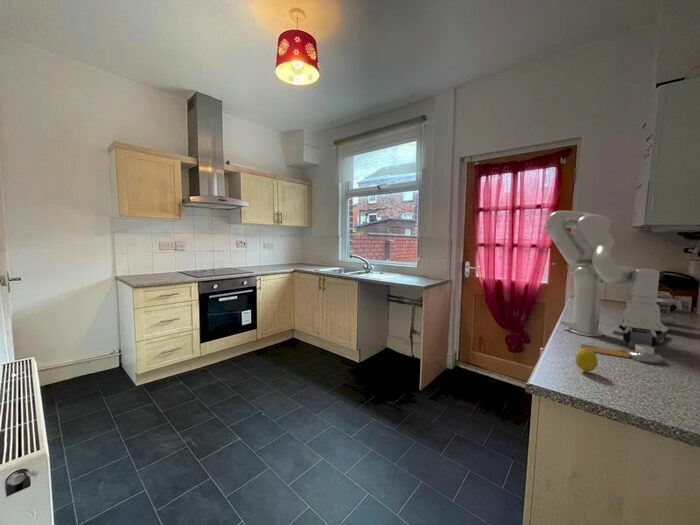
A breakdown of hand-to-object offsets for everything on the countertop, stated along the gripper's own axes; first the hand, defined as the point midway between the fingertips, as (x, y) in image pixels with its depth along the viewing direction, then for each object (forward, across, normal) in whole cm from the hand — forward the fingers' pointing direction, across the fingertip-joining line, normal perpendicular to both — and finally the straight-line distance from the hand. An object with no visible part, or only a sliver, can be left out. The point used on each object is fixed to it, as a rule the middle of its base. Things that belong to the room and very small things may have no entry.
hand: (638, 343), depth 118 cm
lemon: (+1, -20, -40) cm, 45 cm away
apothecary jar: (+2, +14, +38) cm, 40 cm away
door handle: (+2, +4, +17) cm, 18 cm away
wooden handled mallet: (+2, -8, -15) cm, 18 cm away
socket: (+1, 0, 0) cm, 1 cm away
